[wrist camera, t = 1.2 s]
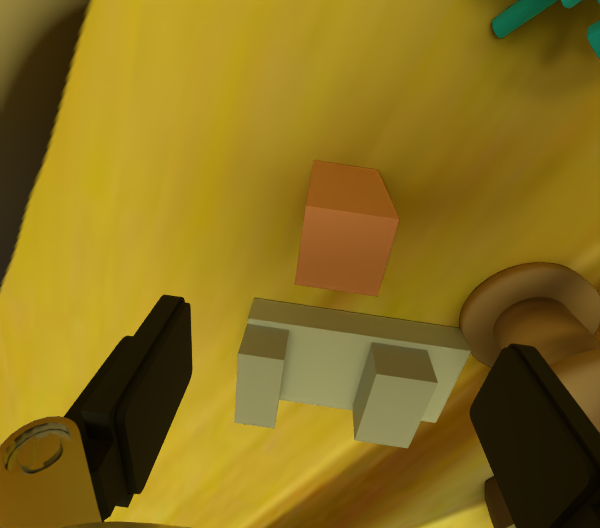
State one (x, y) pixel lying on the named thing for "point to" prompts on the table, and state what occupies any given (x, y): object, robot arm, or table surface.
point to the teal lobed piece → (528, 7)
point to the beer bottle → (497, 506)
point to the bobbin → (540, 324)
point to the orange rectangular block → (346, 230)
